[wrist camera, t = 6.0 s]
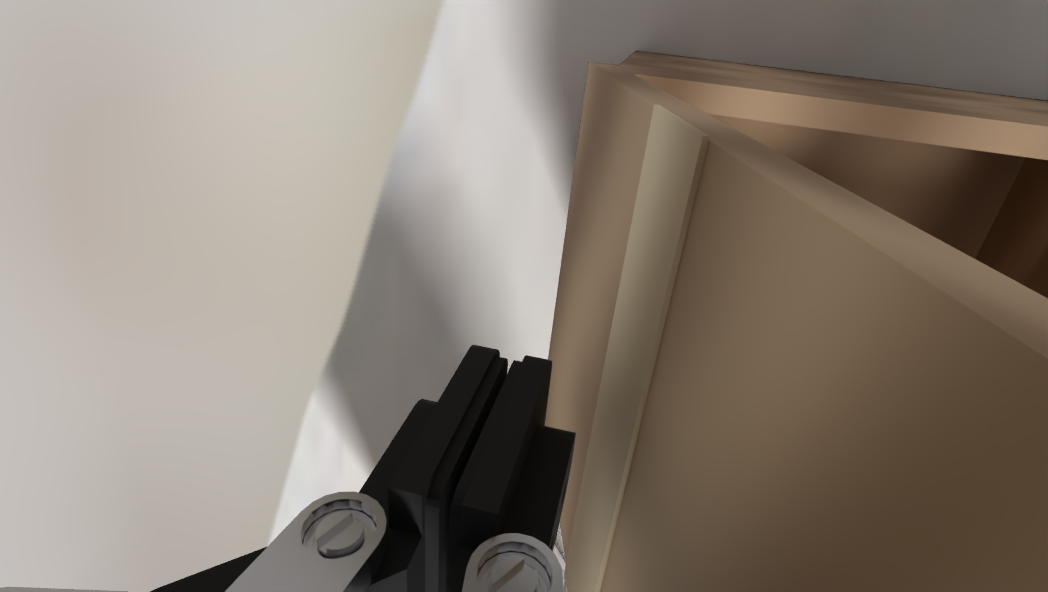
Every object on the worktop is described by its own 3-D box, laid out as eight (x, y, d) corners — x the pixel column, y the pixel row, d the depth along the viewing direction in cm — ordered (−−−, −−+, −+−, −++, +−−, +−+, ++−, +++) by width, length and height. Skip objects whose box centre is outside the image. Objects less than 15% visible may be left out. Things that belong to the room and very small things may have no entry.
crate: (1062, 102, 22) (1275, 156, 14) (928, 366, 27) (1026, 510, 19) (636, 50, 24) (612, 70, 17) (593, 300, 30) (561, 403, 22)
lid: (1577, 571, 2) (1163, 577, 2) (724, 1166, 8) (597, 1186, 8) (616, 63, 16) (553, 57, 16) (561, 413, 22) (514, 412, 22)
